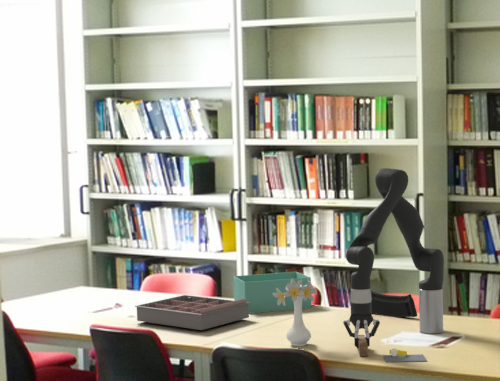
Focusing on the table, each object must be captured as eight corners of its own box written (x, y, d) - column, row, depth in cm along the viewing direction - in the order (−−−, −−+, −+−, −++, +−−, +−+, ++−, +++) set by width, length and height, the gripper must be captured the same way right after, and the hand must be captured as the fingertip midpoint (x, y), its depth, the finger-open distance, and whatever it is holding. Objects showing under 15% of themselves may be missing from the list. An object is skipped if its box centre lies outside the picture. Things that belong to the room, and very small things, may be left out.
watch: (394, 355, 313) (385, 355, 308) (394, 347, 313) (386, 347, 308) (409, 357, 309) (400, 357, 304) (409, 349, 309) (400, 349, 305)
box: (311, 308, 406) (310, 277, 405) (245, 313, 398) (244, 282, 397) (297, 301, 426) (296, 271, 425) (234, 306, 418) (233, 276, 417)
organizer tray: (185, 311, 407) (184, 290, 406) (251, 320, 381) (250, 298, 381) (134, 324, 382) (133, 301, 381) (202, 334, 356) (201, 310, 356)
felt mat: (383, 356, 309) (383, 355, 309) (423, 355, 309) (423, 354, 309) (386, 362, 300) (386, 361, 300) (426, 361, 300) (426, 360, 300)
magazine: (422, 298, 371) (367, 272, 391) (417, 299, 369) (363, 273, 389) (413, 335, 375) (360, 307, 395) (408, 336, 373) (355, 308, 393)
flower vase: (269, 347, 328) (267, 281, 327) (301, 338, 341) (299, 275, 340) (296, 352, 319) (293, 284, 318) (327, 342, 332) (325, 278, 331)
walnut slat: (356, 346, 323) (356, 334, 323) (364, 346, 323) (364, 334, 323) (359, 356, 309) (359, 343, 309) (367, 356, 309) (367, 343, 309)
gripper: (379, 298, 319) (380, 345, 319) (341, 299, 319) (342, 345, 320) (381, 302, 311) (382, 350, 312) (342, 302, 312) (343, 350, 313)
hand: (362, 347), depth 316 cm, fingers closed on walnut slat, 2 cm apart
